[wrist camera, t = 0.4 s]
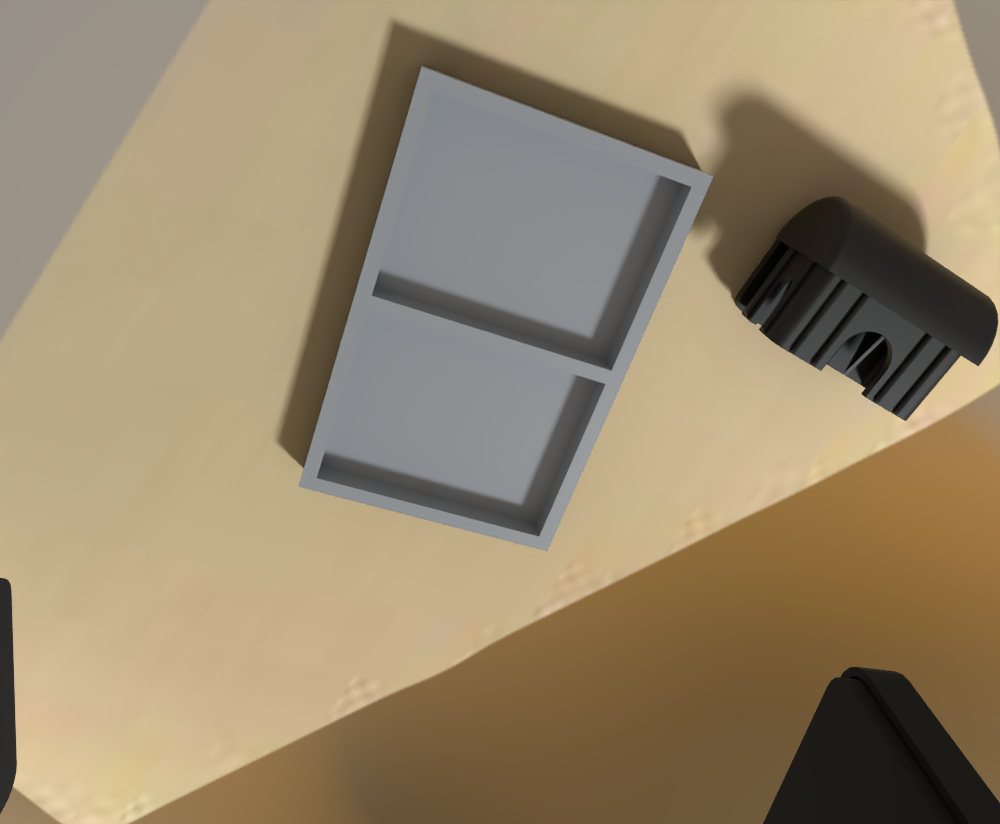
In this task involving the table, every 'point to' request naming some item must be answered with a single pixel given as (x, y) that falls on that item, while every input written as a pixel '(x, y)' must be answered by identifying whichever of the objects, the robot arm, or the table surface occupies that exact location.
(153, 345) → the table surface
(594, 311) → the divided grey tray
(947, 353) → the end cap
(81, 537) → the table surface
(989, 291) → the table surface
